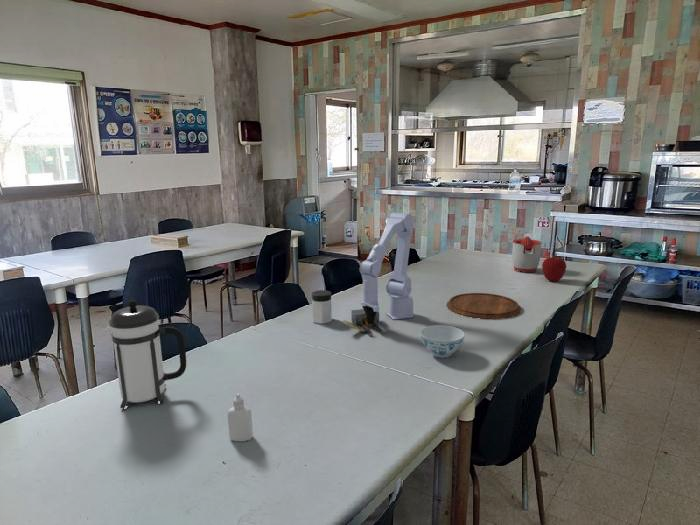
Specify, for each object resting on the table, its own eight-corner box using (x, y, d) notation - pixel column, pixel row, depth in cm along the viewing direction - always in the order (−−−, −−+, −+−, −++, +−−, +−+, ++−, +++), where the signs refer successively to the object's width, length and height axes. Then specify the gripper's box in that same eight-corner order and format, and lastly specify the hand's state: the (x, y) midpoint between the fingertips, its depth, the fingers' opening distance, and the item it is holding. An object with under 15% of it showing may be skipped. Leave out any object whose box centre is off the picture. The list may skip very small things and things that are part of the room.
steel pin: (363, 317, 207) (363, 306, 205) (372, 326, 195) (372, 315, 194) (356, 317, 206) (356, 307, 205) (365, 327, 195) (365, 316, 193)
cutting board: (439, 315, 208) (440, 309, 208) (453, 294, 237) (453, 289, 236) (518, 324, 196) (518, 318, 196) (522, 301, 225) (523, 296, 225)
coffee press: (139, 418, 131) (126, 313, 124) (105, 402, 139) (90, 303, 133) (191, 391, 145) (181, 295, 139) (156, 378, 154) (146, 287, 147)
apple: (568, 283, 251) (571, 258, 247) (546, 284, 251) (548, 258, 248) (559, 277, 262) (561, 253, 259) (537, 278, 262) (539, 253, 259)
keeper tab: (361, 330, 192) (363, 327, 192) (365, 333, 188) (366, 330, 188) (342, 321, 189) (343, 318, 189) (345, 325, 185) (346, 322, 185)
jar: (317, 325, 198) (316, 297, 195) (308, 319, 204) (307, 292, 202) (336, 320, 203) (335, 293, 200) (326, 315, 209) (325, 288, 206)
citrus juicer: (513, 274, 271) (515, 239, 266) (508, 266, 288) (510, 233, 283) (543, 275, 268) (545, 239, 264) (536, 267, 285) (539, 234, 280)
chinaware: (436, 341, 179) (437, 322, 177) (472, 353, 169) (473, 332, 167) (411, 354, 169) (411, 333, 167) (447, 367, 158) (448, 345, 157)
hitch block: (374, 319, 204) (374, 307, 203) (390, 334, 187) (390, 321, 186) (351, 321, 201) (351, 310, 200) (365, 337, 184) (365, 324, 183)
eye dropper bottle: (239, 430, 125) (236, 387, 122) (255, 437, 122) (252, 393, 119) (226, 438, 121) (223, 395, 118) (242, 445, 118) (239, 401, 115)
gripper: (354, 286, 196) (355, 318, 199) (366, 296, 182) (367, 330, 185) (371, 285, 198) (371, 316, 201) (384, 295, 184) (384, 328, 187)
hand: (370, 323), depth 193 cm, fingers closed
